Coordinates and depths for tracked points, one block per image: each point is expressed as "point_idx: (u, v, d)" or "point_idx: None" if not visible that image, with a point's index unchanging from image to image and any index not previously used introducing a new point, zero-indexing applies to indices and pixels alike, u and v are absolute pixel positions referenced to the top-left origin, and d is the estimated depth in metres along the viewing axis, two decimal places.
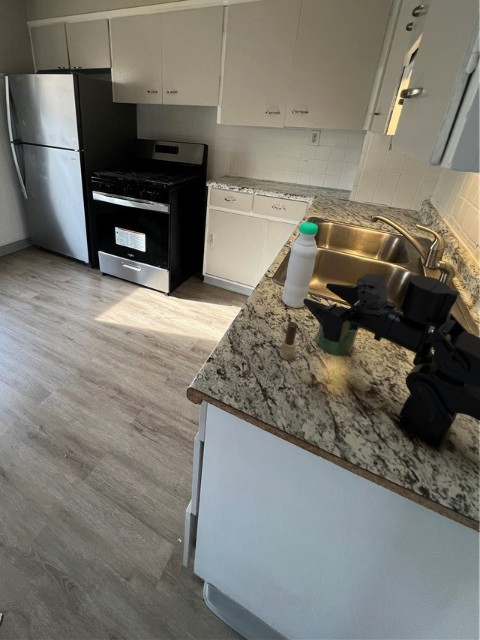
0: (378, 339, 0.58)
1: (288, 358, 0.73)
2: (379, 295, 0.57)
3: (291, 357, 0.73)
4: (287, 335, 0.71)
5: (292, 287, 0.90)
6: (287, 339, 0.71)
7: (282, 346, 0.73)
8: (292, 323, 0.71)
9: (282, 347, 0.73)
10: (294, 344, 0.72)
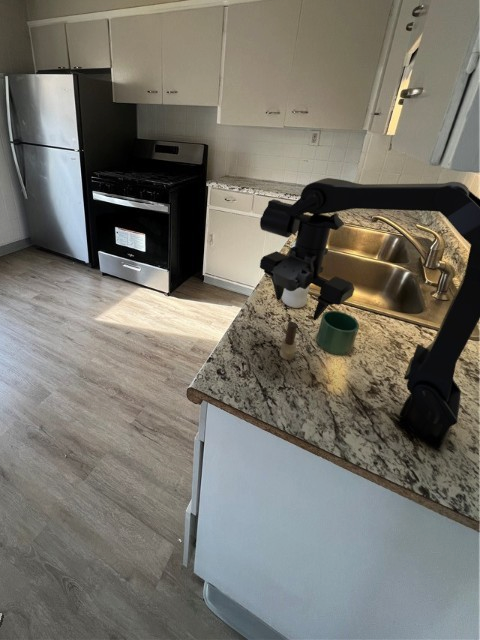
0: (327, 250, 0.62)
1: (288, 358, 0.73)
2: (296, 268, 0.59)
3: (291, 357, 0.73)
4: (287, 335, 0.71)
5: None
6: (287, 339, 0.71)
7: (282, 346, 0.73)
8: (292, 323, 0.71)
9: (282, 347, 0.73)
10: (294, 344, 0.72)
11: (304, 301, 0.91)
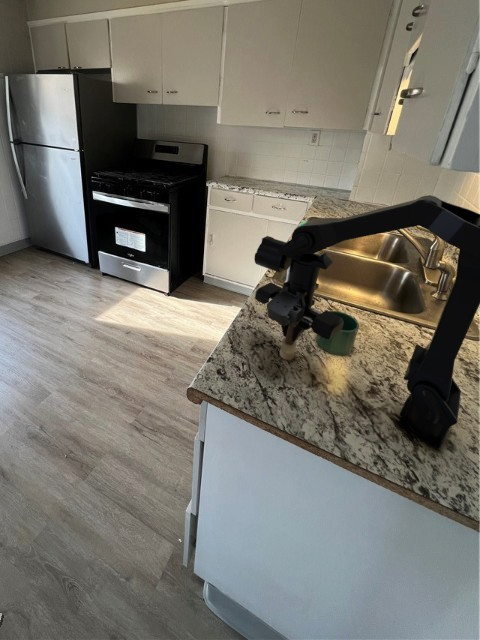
0: (317, 285, 0.66)
1: (288, 358, 0.73)
2: (288, 304, 0.63)
3: (291, 357, 0.73)
4: (287, 335, 0.71)
5: None
6: (287, 339, 0.71)
7: (282, 346, 0.73)
8: (292, 323, 0.71)
9: (282, 347, 0.73)
10: (294, 344, 0.72)
11: None
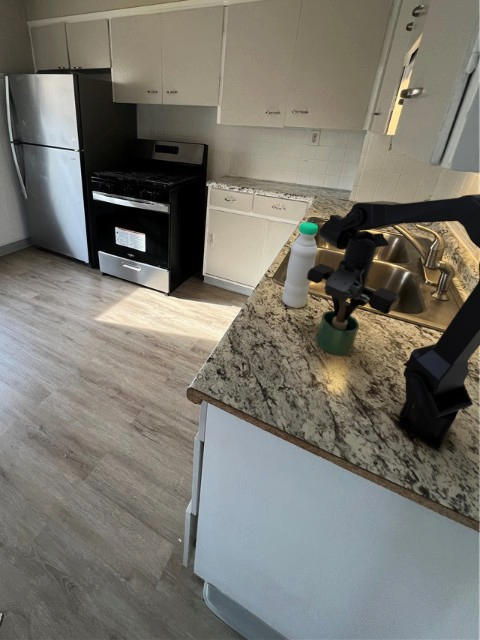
0: (372, 264, 0.69)
1: None
2: (347, 281, 0.66)
3: None
4: (339, 313, 0.74)
5: (292, 287, 0.90)
6: (339, 317, 0.74)
7: (333, 324, 0.75)
8: (344, 301, 0.74)
9: (333, 325, 0.76)
10: (345, 322, 0.75)
11: (304, 301, 0.91)
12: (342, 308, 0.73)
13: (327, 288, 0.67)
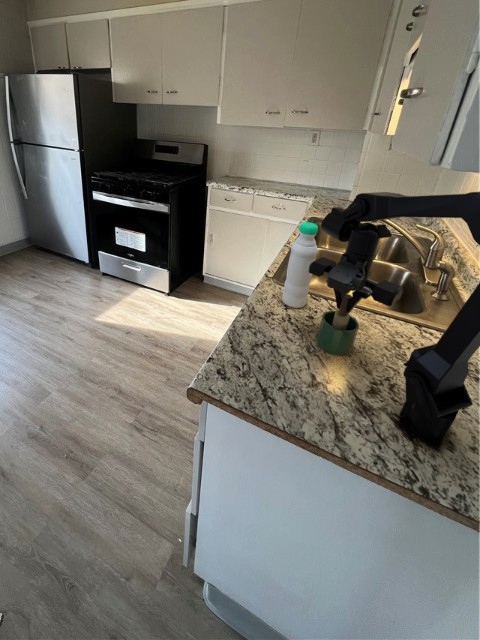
0: (375, 256, 0.68)
1: None
2: (349, 273, 0.65)
3: (344, 329, 0.75)
4: (341, 307, 0.73)
5: (292, 287, 0.90)
6: (341, 311, 0.73)
7: (336, 318, 0.75)
8: (347, 295, 0.73)
9: (335, 319, 0.75)
10: (348, 316, 0.74)
11: (304, 301, 0.91)
12: (344, 301, 0.72)
13: (329, 280, 0.66)
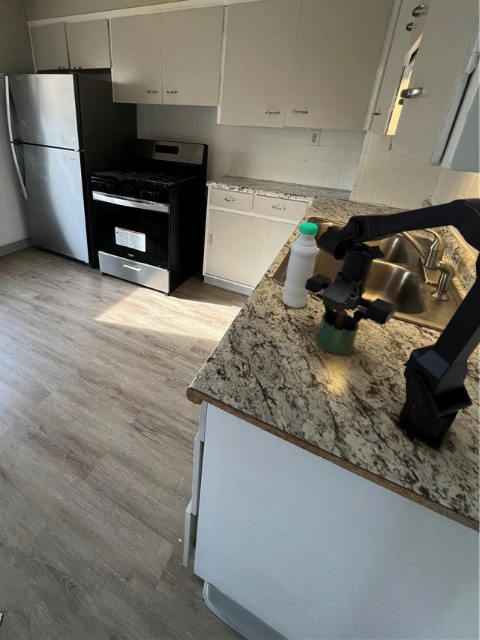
0: (369, 274, 0.70)
1: None
2: (344, 292, 0.67)
3: None
4: (337, 322, 0.75)
5: (292, 287, 0.90)
6: (337, 326, 0.75)
7: None
8: None
9: None
10: None
11: (304, 301, 0.91)
12: (340, 317, 0.74)
13: (324, 299, 0.68)
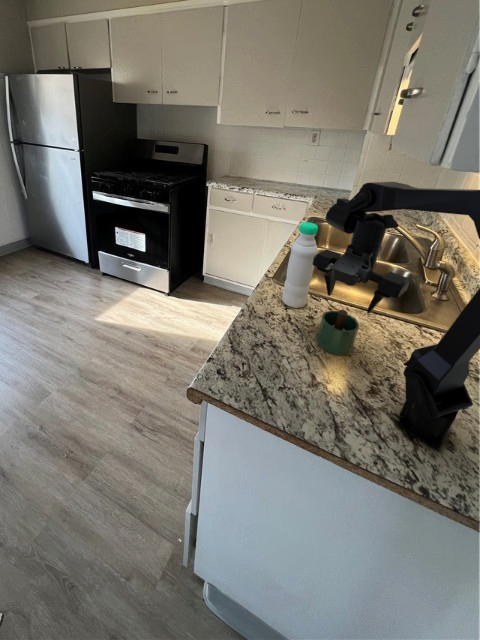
0: (381, 247, 0.66)
1: None
2: (355, 264, 0.64)
3: None
4: (337, 322, 0.75)
5: (292, 287, 0.90)
6: (337, 326, 0.75)
7: None
8: (342, 311, 0.75)
9: None
10: None
11: (304, 301, 0.91)
12: (340, 317, 0.74)
13: (334, 272, 0.65)
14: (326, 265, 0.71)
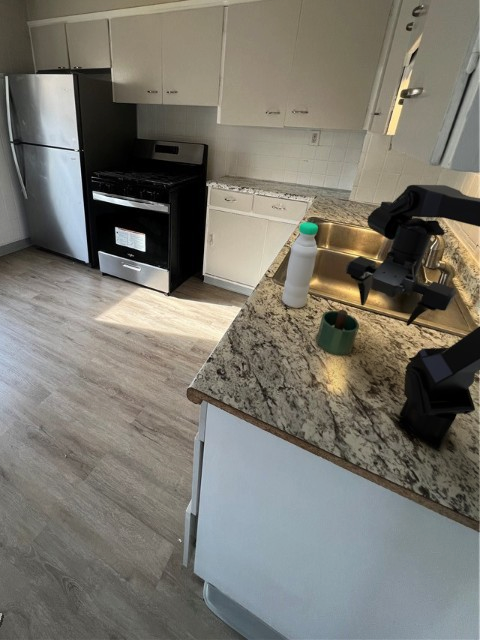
0: None
1: None
2: (397, 274, 0.59)
3: None
4: (337, 322, 0.75)
5: (292, 287, 0.90)
6: (337, 326, 0.75)
7: None
8: (342, 311, 0.75)
9: None
10: None
11: (304, 301, 0.91)
12: (340, 317, 0.74)
13: (374, 282, 0.60)
14: (362, 273, 0.66)
